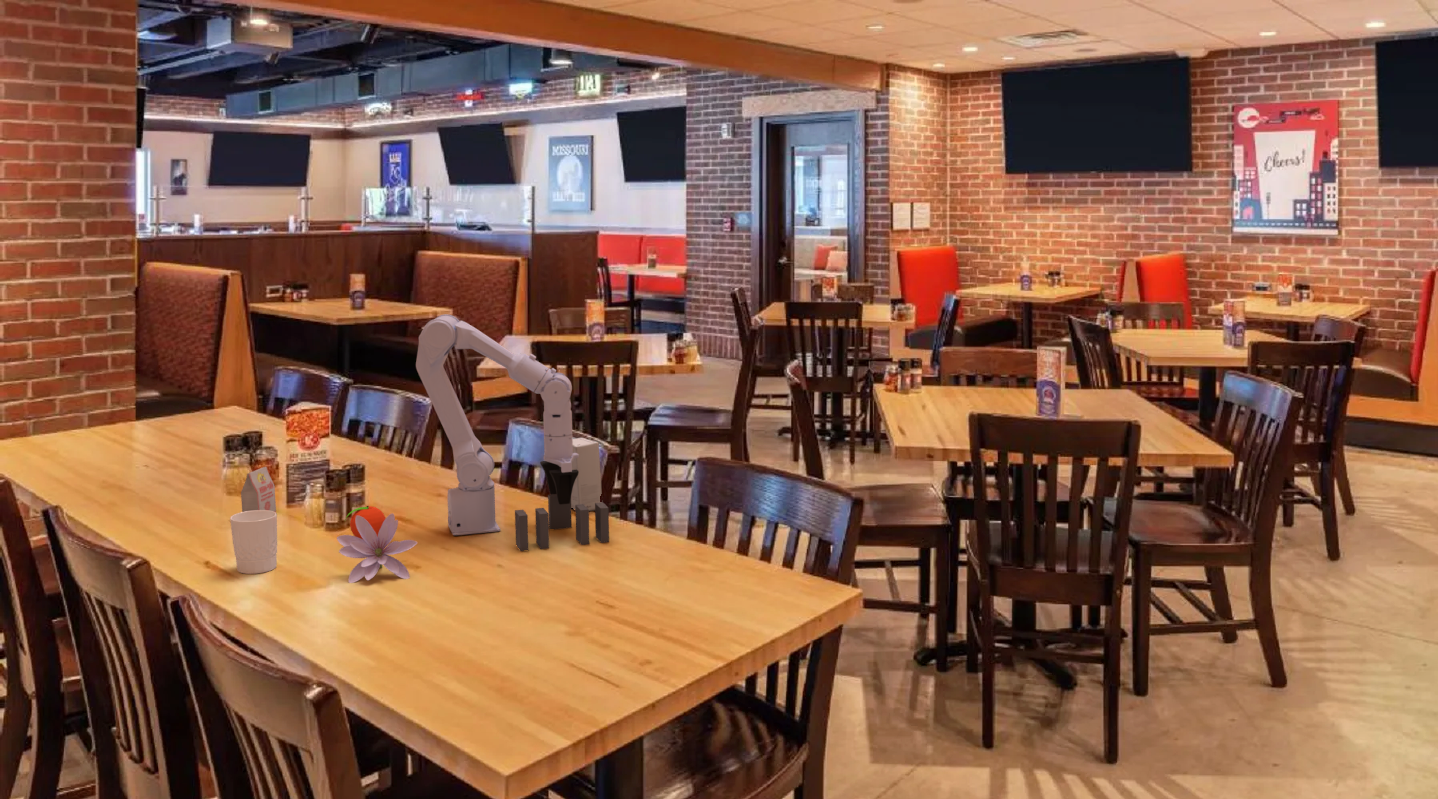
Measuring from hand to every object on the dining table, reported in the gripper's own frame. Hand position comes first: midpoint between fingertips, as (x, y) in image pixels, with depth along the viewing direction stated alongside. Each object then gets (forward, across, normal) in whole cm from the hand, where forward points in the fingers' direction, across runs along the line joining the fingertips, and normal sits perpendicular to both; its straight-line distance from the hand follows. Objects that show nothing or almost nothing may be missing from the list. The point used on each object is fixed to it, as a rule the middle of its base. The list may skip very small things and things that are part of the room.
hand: (559, 499), depth 240 cm
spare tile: (+6, 0, 0) cm, 6 cm away
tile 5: (+6, -11, -6) cm, 14 cm away
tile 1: (+6, -11, +10) cm, 16 cm away
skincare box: (+6, +14, -8) cm, 17 cm away
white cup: (+6, -7, +58) cm, 59 cm away
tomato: (+6, +4, +38) cm, 39 cm away
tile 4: (+6, -11, -2) cm, 13 cm away
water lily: (+6, -19, +38) cm, 43 cm away
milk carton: (+6, +31, +58) cm, 66 cm away
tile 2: (+6, -11, +6) cm, 14 cm away
